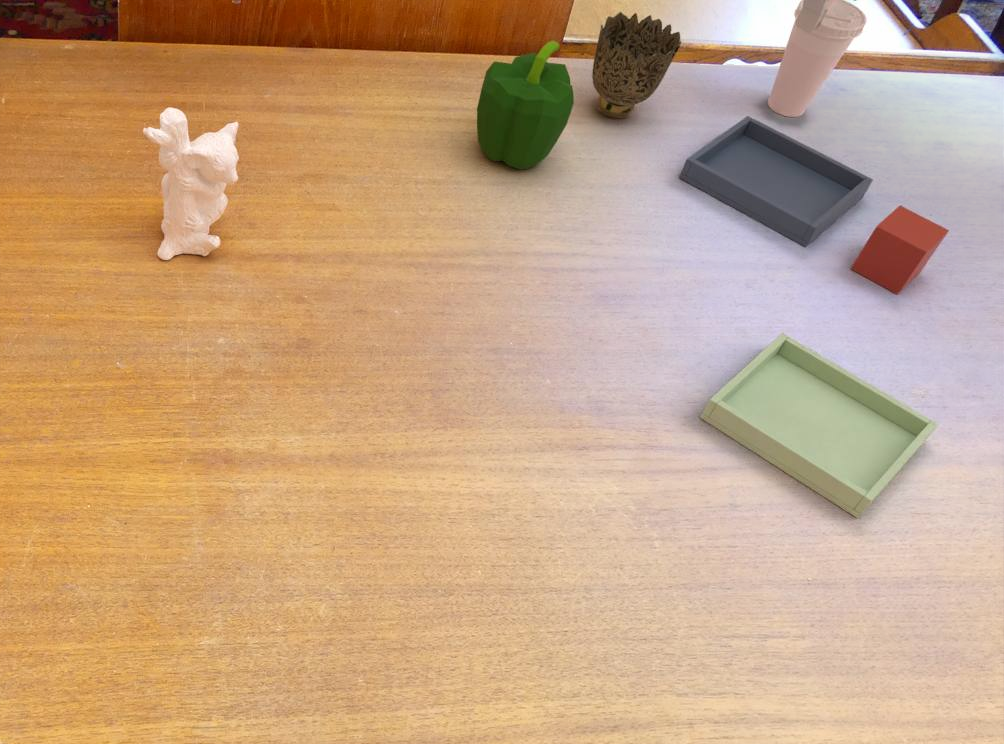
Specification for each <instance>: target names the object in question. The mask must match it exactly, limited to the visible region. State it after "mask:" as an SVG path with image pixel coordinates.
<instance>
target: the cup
mask: <svg viewBox="0 0 1004 744" xmlns="http://www.w3.org/2000/svg"><path fill="white" fill-rule="evenodd" d="M672 28H673V27H672V24H667V25H666V26H664V28H663V22H662V20H661V19H660V18H657V19H653V17H652V15H651V14H650V15H647V16H646V17H645V18H643V19H641V20H640V21H639V17H638V14H637V12H635V13H633V14H632V15H631V17H630V18H629V17H628V16H627V15H626V14H624V13H623V12H622V11H619V12H617V13H616V14H615V15H614V16H613V17H612V16H610V15H609V16H607V18H606V19H605V23H604V26H603V24H601V25H600V29H599V35H598V39H597V44H596V49H595V54H594V58H593V64H592V73H591V74H592V75H591V76H592V83H593V86H594V89H595V91H596V92H597V94H598V96H597V99H596V105H597V108H598V110H599V112H600V113H602V114H603V115H605V116H607V117H609V118H612V119H623V118H626V117H629V116H630V115H631V114H632V113H633V112H634V110H635V109H636V105H638V104H641V103H643V102H645V101H646V100H648V99H649V98H650V97H652V95H654V93H655V92H656V90H657V89H658V88H659V86H660V84H661V82H662V81H663V79H664V77H665V75H666V73H667V72H668V69H669V67H670V66H671V64H672V62H673V60H674V58H675V57H676V55H677V52H678V51H679V49H680V47H681V45H682V40H681V32H680V31H676V32H672Z"/></svg>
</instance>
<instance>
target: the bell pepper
mask: <svg viewBox="0 0 1004 744" xmlns="http://www.w3.org/2000/svg"><path fill="white" fill-rule="evenodd" d="M559 48H560V44H559V42H557V41H556V40H550V41H548V42H547V43H545V44H544V45H543V46H542V47H541V49H540V50H539V52H538V53H535V52H534V51H533V52H530V53H525V54H522V55H518V56H515V57H514V59H513V60H512V62H511V63H509V62H502V61H495V60H494V61H493V62H492V63H491V64H490V66H489V67H488V68H487V70H486V71H485V74H484V78H483V82H482V85H481V89H480V94H479V98H478V103H477V107H476V132H477V142H478V144H479V146H480V148H481V150H482V152H483V154H484V155H485V157H486V158H488V159H490V160H492V161H494V162H501V161H503V162H504V163H505V164H506V165H507V166H510V167H512V168H515V169H517V170H527V169H532V168H534V167H535V166H537V165H538V164H540V163H541V162H543V160H545V159H546V158H547V157H548V156H549V154H550V153H551V152H552V150H553V148H554V147H555V145H556V143H557V142H558V141H559V139H560V137H561V135H562V133H563V132H564V130H565V128H566V126H567V125H568V121H569V119H570V116H571V113H572V110H573V107H574V104H575V97H574V87H573V85H572V83H571V77H570V74H569V71H568V69H567V66H566V64H564V63H557V62H556V63H555V62H548V59H549V58H550V57H551V55H552V54H554V53H556V52H557V51H558V50H559Z"/></svg>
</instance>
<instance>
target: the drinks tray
mask: <svg viewBox="0 0 1004 744" xmlns="http://www.w3.org/2000/svg"><path fill="white" fill-rule="evenodd" d="M699 419H701V420H702V421H704V422H705V423H707V424H709V425H710V426H712V427H713V428H715V429H717V430H718V431H720V432H721V433H723V434H724V435H726V436H728V437H729V438H731V439H732V440H734V441H735V442H737V443H739V444H740V445H742V446H744V447H745V448H747V449H748V450H749V451H751V452H752V453H755V454H756V455H758V456H760V457H761V458H762V459H764V460H765V461H767V462H768V463H770V464H772V465H773V466H775V467H777V468H778V469H780V470H781V471H782V472H784V473H786V474H787V475H789V476H791V477H792V478H794V479H795V480H797V481H798V482H800V483H801V484H803V485H804V486H806V487H808V488H809V489H811V490H812V491H814V492H815V493H817V494H819V495H820V496H822V497H823V498H825V499H826V500H828V501H830V502H831V503H833V504H834V505H836V506H837V507H839V508H840V509H842V510H844V511H845V512H847V513H849V514H850V515H852V516H853V517H855V518H856V519H859V518H860V516H862V515H863V513H864V512H865V511H866V510H867V509H868V508H869V506H870V505H871V504H872V503H873V502H874V500H876V499H877V497H879V495H880V494H881V493H882V491H884V489H885V488H886V487H887V486H888V485H889V484H890V482H892V480H893V479H894V478H895V476H896V475H897V474H898V473H899V472H900V471H901V469H902V468H904V466H905V465H906V464H907V463H908V461H909V460H910V459H911V458H912V457H913V456H914V455H915V454H916V453H917V451H918V450H919V449H921V446H922V445H923V444H924V443H925V442H926V441H927V440H928V438H929V437H930V436H931V435H932V433H933V432H934V431H935V430H936V429H937V427H938V426H939V424H938V422H936V421H934V420H932V419H931V418H929V417H927V416H925V415H924V414H922V413H920V412H918V411H917V410H915V409H914V408H912V407H910V406H908V405H907V404H905V403H903V402H901V401H900V400H898V399H896V398H895V397H893V396H891V395H889V394H887V393H886V392H884V391H883V390H881V389H880V388H878V387H876V386H874V385H873V384H871V383H870V382H867V381H866V380H865V379H862V378H860V377H859V376H857V375H856V374H854V373H853V372H850V371H848V370H847V369H845V368H843V367H841V366H840V365H839V364H836V363H835V362H833V361H831V360H830V359H828V358H826V357H825V356H823V355H822V354H819V353H818V352H816V351H814V350H812V349H811V348H810V347H807V346H806V345H804V344H803V343H800V342H799V341H797V340H795V339H794V338H792V337H790V336H789V335H787V334H786V333H784V332H782V333H780V335H778V336H777V337H776V338H775V339H774V340H773V341H772V342H771V343H770V344H768V346H766V347H765V348H764V349H763V350H762V351H761V352H759V354H758V355H756V356H755V357H754V358H753V359H752V360H751V361H750V362H748V364H747V365H746V366H745V367H743V368H742V369H741V370H740V371H739V372H738V373H736V375H734V377H733V378H732V379H730V380H729V381H728V382H727V383H725V385H723V386H722V388H720V389H719V390H718V391H717V392H716V393H715V394H714V395H713V396H711V397H710V399H709V400H708V402H707V404H706V405H705V407H704V409H703V411H702V412H701V414H700V416H699Z"/></svg>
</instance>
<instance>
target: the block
mask: <svg viewBox="0 0 1004 744" xmlns="http://www.w3.org/2000/svg"><path fill="white" fill-rule="evenodd" d="M949 232H950V231H949V229H947V228H946V227H943V226H941V225H939V224H937V223H936V222H933V220H930V219H928V218H926V217H924V216H922V215H920V214H918V213H916V212H914V211H913V210H910V209H908V208H906V207H904V206H903V205H898V206H897V207H896V208H895V209H894V210H893V211H892V212H890V213H889V214H888V215H887V216H886V217H885V218H884V219H883V220H882V221H880V222H879V223H878V224H877V225H876V226H875V228H874V229H873V231H872V233H871V235H870V236H869V237H868V239H867V241H866V242H865V244H864V246H863V247H862V248H861V250H860V252H859V254H858V255H857V257H856V259H855V260H854V261H853V263H852V265H851V267H850V270H852V271H854V272H855V273H857V274H859V275H861V276H863V277H865V278H867V279H868V280H871V281H872V282H873V283H876V284H878V285H879V286H881V287H882V288H883V287H884V288H885V289H887V290H888V291H890V292H892V293H894V294H896V295H899V294H900V293H901V292H902V291H903V290H904V289H905V288H906V287H907V286H909V284H910V283H911V282H912V281H913V280H914V279H915V278H916V277H918V275H919V274H921V273H922V271H923V269H924V268H925V267H926V265H927V264H928V262H929V261H930V259H931V257H932V256H933V255H934V253H935V252H936V250H937V249H938V247H939V246H940V245H941V243H942V241H943V240H944V239H945V237H946V236H947V235H948V233H949Z"/></svg>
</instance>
